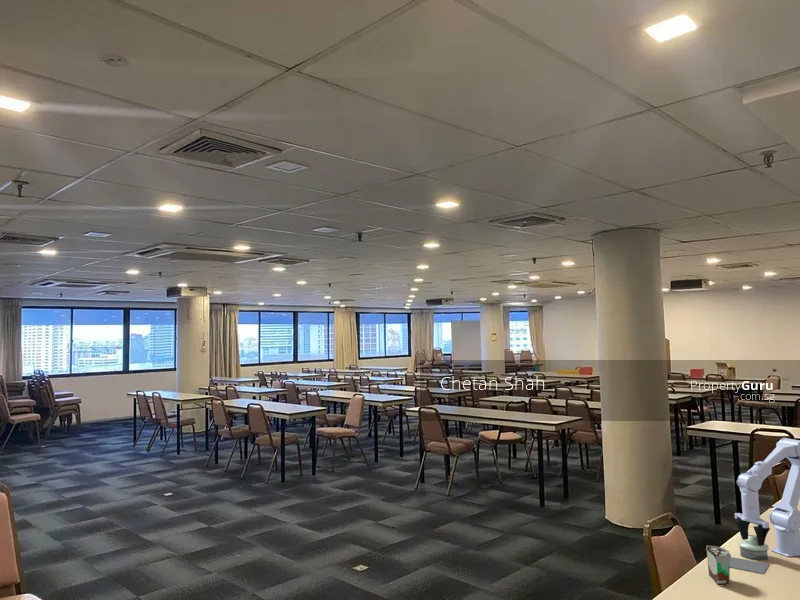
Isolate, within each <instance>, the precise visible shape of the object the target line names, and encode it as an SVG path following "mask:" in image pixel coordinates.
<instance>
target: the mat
mask: <svg viewBox="0 0 800 600" xmlns="http://www.w3.org/2000/svg"><path fill="white" fill-rule="evenodd" d="M731 558H732V560H731V561H730V569H735V570H740V571H744V572H745V571H746V572H751V573H755V574H761V575H765V572H766V571H767V570H768V568H769V566H770V563H766V562H761V561H757V560H751V559H746V558H745V559H743V558H740V557H734V556H731Z"/></svg>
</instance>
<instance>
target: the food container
mask: <svg viewBox="0 0 800 600" xmlns="http://www.w3.org/2000/svg"><path fill="white" fill-rule="evenodd" d="M705 551H706V558H707V559H706V560H707V570H708V576H709V578H710V579H711V578H712V579H713V580H714V581H713V580H712V579H711V580H712V581H713V582H714V583H715V584H716V586H717V585H724V586H728V585H730V580H731V579H730V574H731V573H730V571H731V570H730V569H731V568H730V561H731V560H732V555H731V553H730V551H729V550H727V549H726V548H722V547H720V546H716V545H706V548H705ZM727 584H728V585H727Z"/></svg>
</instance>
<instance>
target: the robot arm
mask: <svg viewBox="0 0 800 600" xmlns="http://www.w3.org/2000/svg"><path fill="white" fill-rule="evenodd" d="M785 458H786V459H787V460H788V461H789V462H790V464H791V466H790V469H789V472H788V476H787V479H786V483H785V486H784V490H783V492H782V497H781V500H780V502H777V503H776V504H774V506H773V508H772V509H771V511H770V513H769V516H768V517H769V521H766V520H764V519H762V518H761V516H760V500H759V490H760V489H761V488H762V484H763V483H764V480H765V479H767V478H768V476H770V475H771V474H772V472H773V470H772V468H773V467H775V466H776V465H777V464H779V463H780V462H781V461H782V460H784V459H785ZM736 485H737V486H738V487H739V491H740V494H741V495H740V498H741V508H742V509H741V511H742V513H740V512H735V513H734V524H735V525H736V527H737V528H738V531H739V533H740V537H741V539H742V540H748V535H749V526H750V524H754V525H756V526H752V527H753V530H754V532H755V536H757V543H758V545H759V546H763V545H764V543H765V542H766V538H767V535H768V533H769V532H770V530H771V527H770V523H771V525H773V528H774V530H775V531H774V535H775V545H776V546H775V547H776V548H771V549H770V551H771V552H774V553H777V554H780V555H782V556H784V557H788V558H790V557H798V556H800V510H799V508H798V505H799V501H800V440H799V439H792V438H787V437H782V438H781V439H780V440H779V441H777V442H776V447H775V448H774V449H773V450H772V451H771V452H770V453H769V454H768V455H767V457H766V458H765V459H764V460H761V461H756V462H754V464H753V466H752V467H751V468H749V469H748V470H747V471H746V472H745V473H741V474H739V475H738V477H737V480H736ZM769 522H770V523H769Z"/></svg>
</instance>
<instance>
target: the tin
mask: <svg viewBox="0 0 800 600" xmlns="http://www.w3.org/2000/svg"><path fill="white" fill-rule="evenodd" d="M739 551H740V557H743V558H745V559H746V560H751V561H767V560H768V557H769V555H768V550H767V551H752V550H747V549H744V548H741V547H739Z"/></svg>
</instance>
